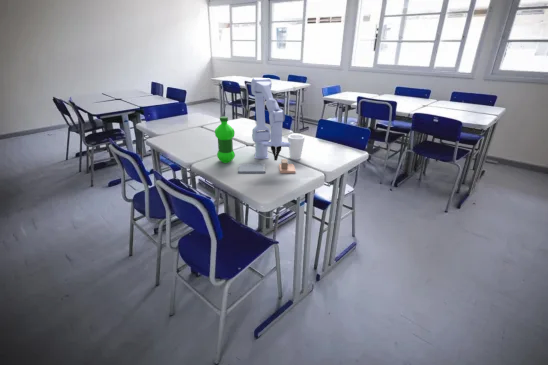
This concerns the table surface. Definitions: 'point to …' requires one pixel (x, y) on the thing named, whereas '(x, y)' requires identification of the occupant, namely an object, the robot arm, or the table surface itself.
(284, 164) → the stub
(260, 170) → the board
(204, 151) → the table surface
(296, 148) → the foam cup
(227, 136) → the plastic bottle
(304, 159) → the table surface
